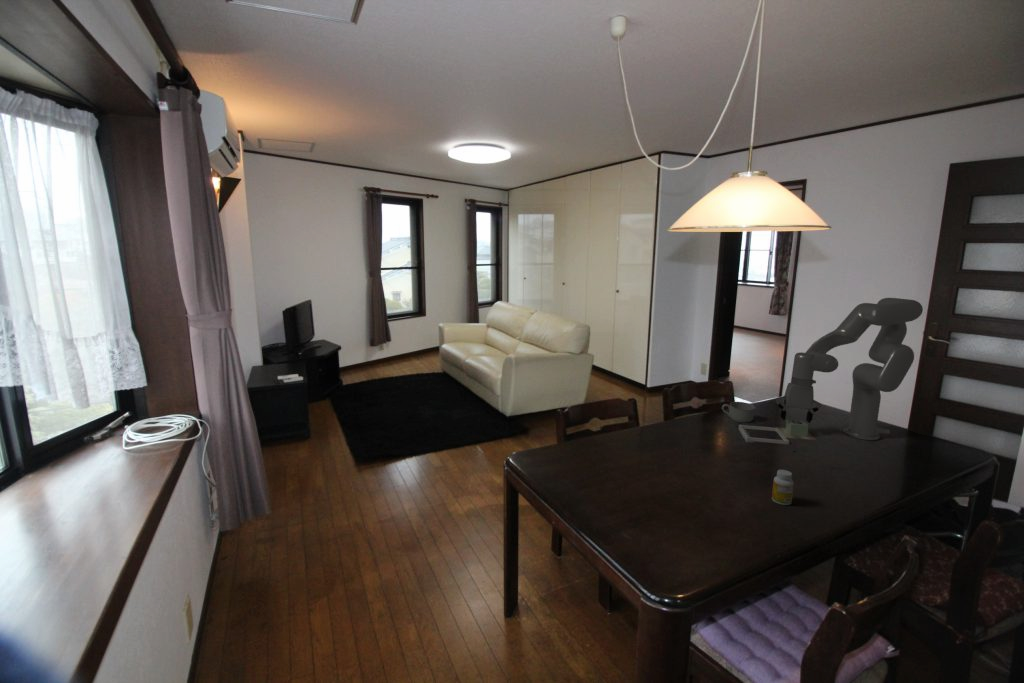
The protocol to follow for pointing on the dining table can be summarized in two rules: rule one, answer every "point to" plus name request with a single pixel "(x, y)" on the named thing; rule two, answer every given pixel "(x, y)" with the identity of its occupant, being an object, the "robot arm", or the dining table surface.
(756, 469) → the dining table surface
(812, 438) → the wooden peg base
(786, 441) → the tray
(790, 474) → the supplement bottle
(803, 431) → the green hollow square block
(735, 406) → the teacup
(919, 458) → the dining table surface
